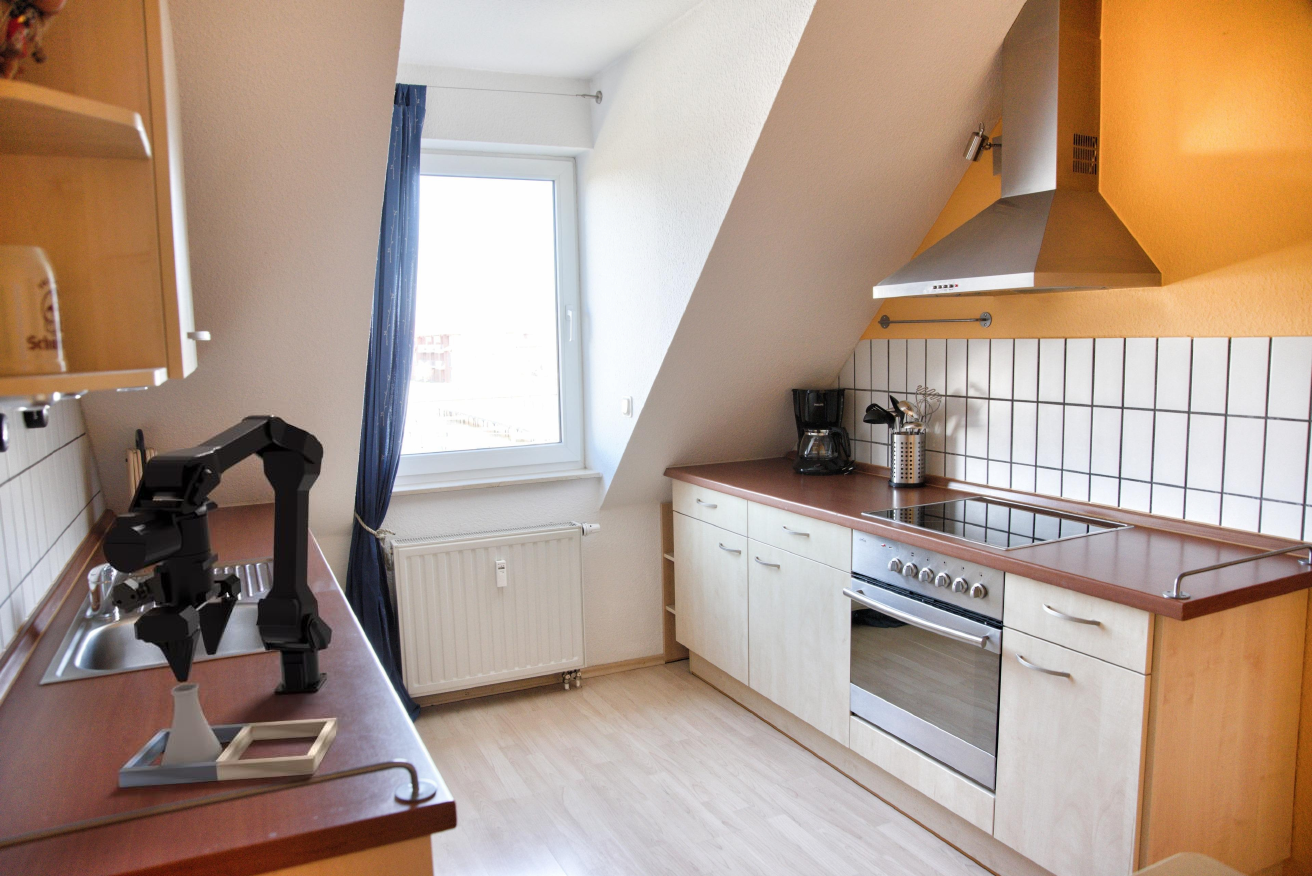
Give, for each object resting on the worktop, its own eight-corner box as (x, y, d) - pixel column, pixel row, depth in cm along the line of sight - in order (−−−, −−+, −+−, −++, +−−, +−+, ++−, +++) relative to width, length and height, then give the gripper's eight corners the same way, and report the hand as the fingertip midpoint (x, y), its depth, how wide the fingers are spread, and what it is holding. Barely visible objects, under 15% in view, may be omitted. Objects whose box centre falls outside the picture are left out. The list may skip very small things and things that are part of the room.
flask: (232, 747, 119) (226, 675, 118) (206, 773, 112) (199, 697, 111) (178, 748, 119) (171, 677, 118) (148, 775, 112) (141, 699, 111)
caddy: (163, 743, 121) (162, 728, 121) (337, 731, 123) (336, 717, 123) (119, 787, 109) (118, 772, 109) (313, 774, 111) (312, 758, 111)
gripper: (153, 537, 123) (165, 645, 125) (81, 575, 104) (95, 701, 107) (237, 533, 124) (247, 641, 126) (180, 570, 106) (193, 695, 108)
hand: (197, 667), depth 117 cm, fingers open, 9 cm apart
